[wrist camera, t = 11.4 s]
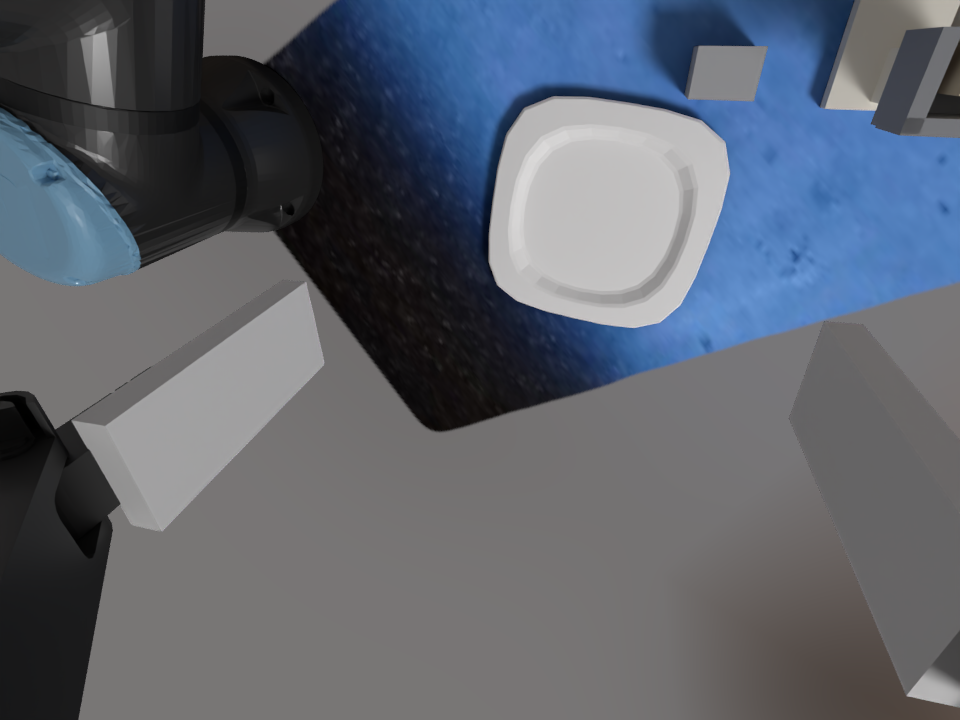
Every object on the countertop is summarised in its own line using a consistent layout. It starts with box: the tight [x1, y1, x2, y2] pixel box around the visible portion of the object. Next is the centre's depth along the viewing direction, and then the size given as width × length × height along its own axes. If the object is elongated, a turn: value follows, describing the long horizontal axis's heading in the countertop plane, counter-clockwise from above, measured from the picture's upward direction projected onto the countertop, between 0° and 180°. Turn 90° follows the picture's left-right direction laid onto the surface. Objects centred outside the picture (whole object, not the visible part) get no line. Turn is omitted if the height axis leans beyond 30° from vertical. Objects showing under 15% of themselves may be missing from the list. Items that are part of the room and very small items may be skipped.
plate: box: [489, 96, 730, 328], centre depth 42 cm, size 18×18×2 cm
